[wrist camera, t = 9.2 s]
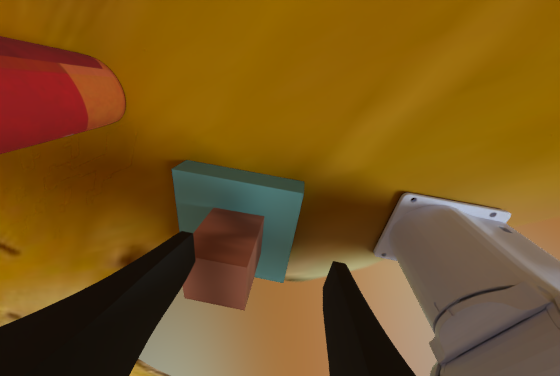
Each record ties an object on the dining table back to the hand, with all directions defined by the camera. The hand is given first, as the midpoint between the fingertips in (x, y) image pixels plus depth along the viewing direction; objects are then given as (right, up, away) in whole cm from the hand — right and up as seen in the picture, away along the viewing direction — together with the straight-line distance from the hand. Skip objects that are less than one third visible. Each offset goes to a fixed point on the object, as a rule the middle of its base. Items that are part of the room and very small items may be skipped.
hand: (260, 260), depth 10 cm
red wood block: (-3, -1, +10) cm, 10 cm away
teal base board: (-3, 0, +13) cm, 13 cm away
